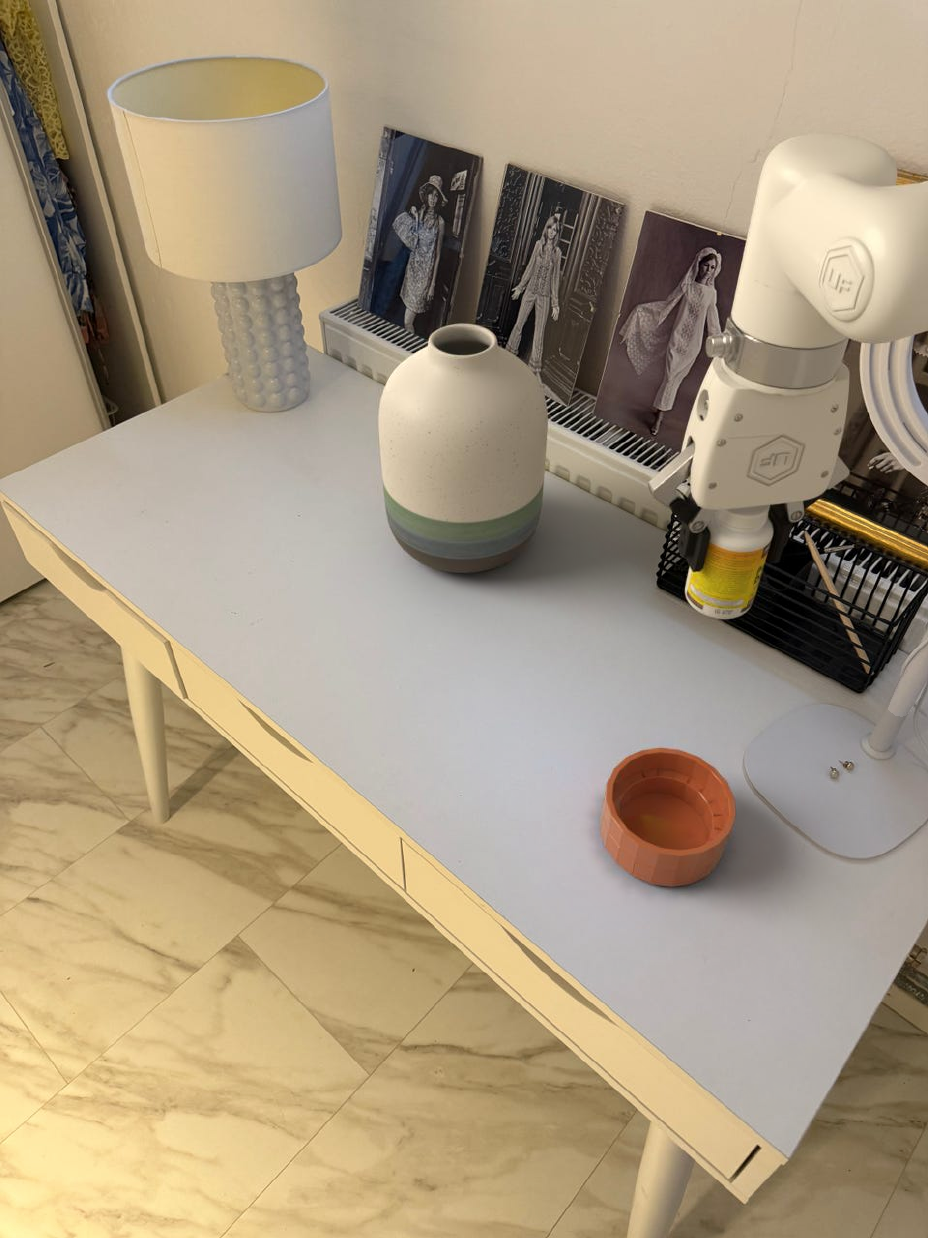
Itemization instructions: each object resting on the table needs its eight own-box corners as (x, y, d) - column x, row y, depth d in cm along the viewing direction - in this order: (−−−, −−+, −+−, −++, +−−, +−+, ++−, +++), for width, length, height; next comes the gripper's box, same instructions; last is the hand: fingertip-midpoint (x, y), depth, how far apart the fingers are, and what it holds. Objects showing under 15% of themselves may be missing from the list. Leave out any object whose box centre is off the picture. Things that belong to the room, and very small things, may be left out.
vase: (551, 584, 98) (568, 381, 81) (390, 595, 97) (374, 392, 80) (527, 487, 110) (538, 293, 93) (384, 496, 109) (369, 301, 92)
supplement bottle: (754, 626, 75) (784, 526, 68) (684, 619, 75) (706, 519, 68) (749, 579, 79) (778, 481, 72) (683, 573, 79) (704, 475, 72)
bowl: (741, 879, 74) (755, 845, 70) (619, 897, 73) (626, 864, 69) (698, 776, 81) (709, 740, 77) (586, 791, 80) (592, 756, 76)
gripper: (675, 388, 57) (638, 600, 70) (935, 364, 59) (852, 575, 72) (640, 330, 63) (611, 537, 75) (879, 310, 65) (811, 515, 77)
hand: (729, 554), depth 74 cm, fingers closed on supplement bottle, 5 cm apart
